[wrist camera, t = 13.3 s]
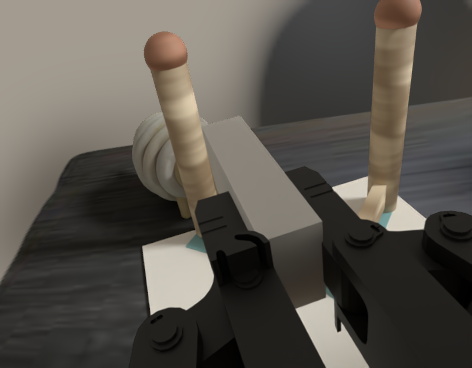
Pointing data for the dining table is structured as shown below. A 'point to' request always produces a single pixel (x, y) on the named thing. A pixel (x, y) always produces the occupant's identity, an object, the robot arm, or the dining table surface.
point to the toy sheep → (159, 161)
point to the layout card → (312, 315)
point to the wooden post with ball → (389, 102)
